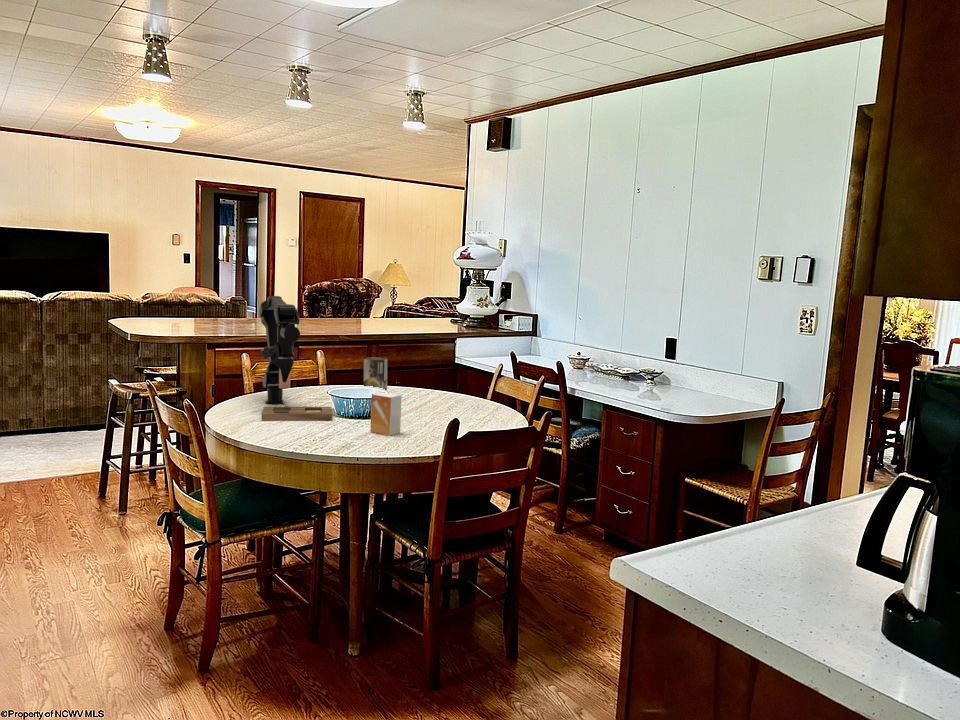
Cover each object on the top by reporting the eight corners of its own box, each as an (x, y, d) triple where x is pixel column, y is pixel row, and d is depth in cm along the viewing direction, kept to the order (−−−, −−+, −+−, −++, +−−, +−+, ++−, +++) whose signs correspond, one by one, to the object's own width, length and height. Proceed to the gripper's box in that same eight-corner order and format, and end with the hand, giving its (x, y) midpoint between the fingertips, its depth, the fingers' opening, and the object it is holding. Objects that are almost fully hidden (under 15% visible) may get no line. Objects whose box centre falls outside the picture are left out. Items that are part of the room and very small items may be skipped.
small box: (369, 432, 247) (371, 394, 245) (381, 429, 252) (382, 391, 251) (389, 436, 243) (391, 397, 241) (400, 432, 248) (402, 394, 247)
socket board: (263, 413, 267) (263, 405, 267) (331, 413, 273) (331, 405, 272) (261, 420, 256) (261, 412, 255) (332, 420, 261) (332, 412, 261)
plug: (279, 386, 274) (279, 365, 273) (290, 386, 275) (290, 365, 274) (278, 388, 270) (279, 367, 269) (290, 388, 271) (290, 367, 270)
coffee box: (387, 395, 314) (388, 358, 311) (383, 398, 307) (385, 359, 305) (366, 394, 314) (367, 356, 312) (362, 396, 308) (363, 358, 306)
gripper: (263, 335, 277) (263, 376, 279) (260, 341, 259) (260, 385, 261) (294, 336, 280) (293, 377, 282) (293, 342, 262) (292, 385, 264)
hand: (284, 381), depth 272 cm, fingers closed on plug, 4 cm apart
